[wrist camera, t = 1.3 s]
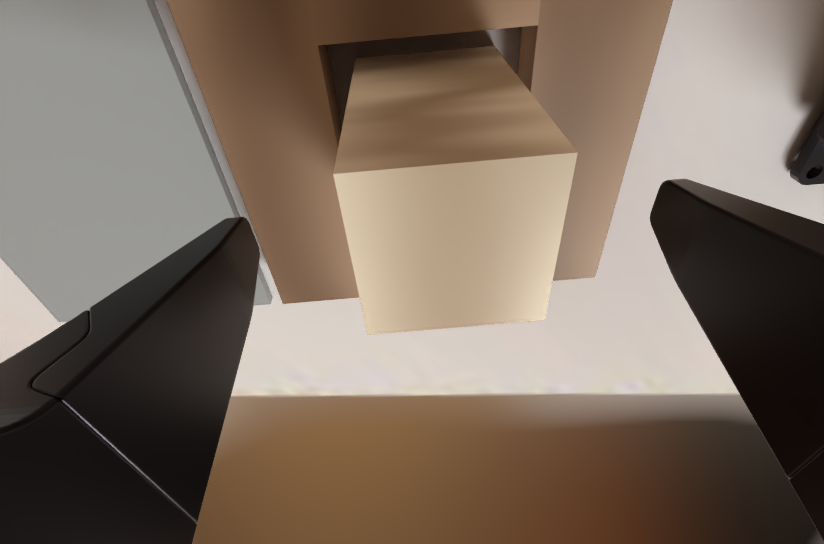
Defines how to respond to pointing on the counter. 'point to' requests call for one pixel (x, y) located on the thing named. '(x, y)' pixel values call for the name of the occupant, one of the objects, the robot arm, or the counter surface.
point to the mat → (98, 150)
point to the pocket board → (321, 127)
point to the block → (450, 191)
